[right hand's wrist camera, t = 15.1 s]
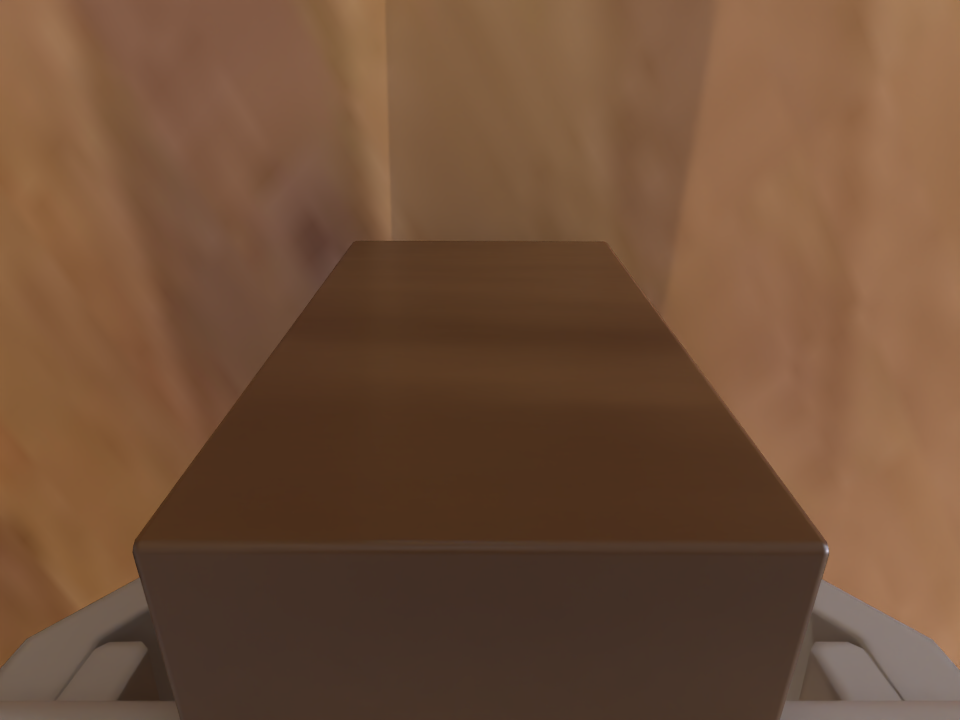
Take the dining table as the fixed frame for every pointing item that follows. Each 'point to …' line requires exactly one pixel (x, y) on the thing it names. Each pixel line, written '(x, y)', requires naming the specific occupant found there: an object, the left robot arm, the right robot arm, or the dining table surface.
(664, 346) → the bar
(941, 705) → the right robot arm
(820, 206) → the dining table surface
